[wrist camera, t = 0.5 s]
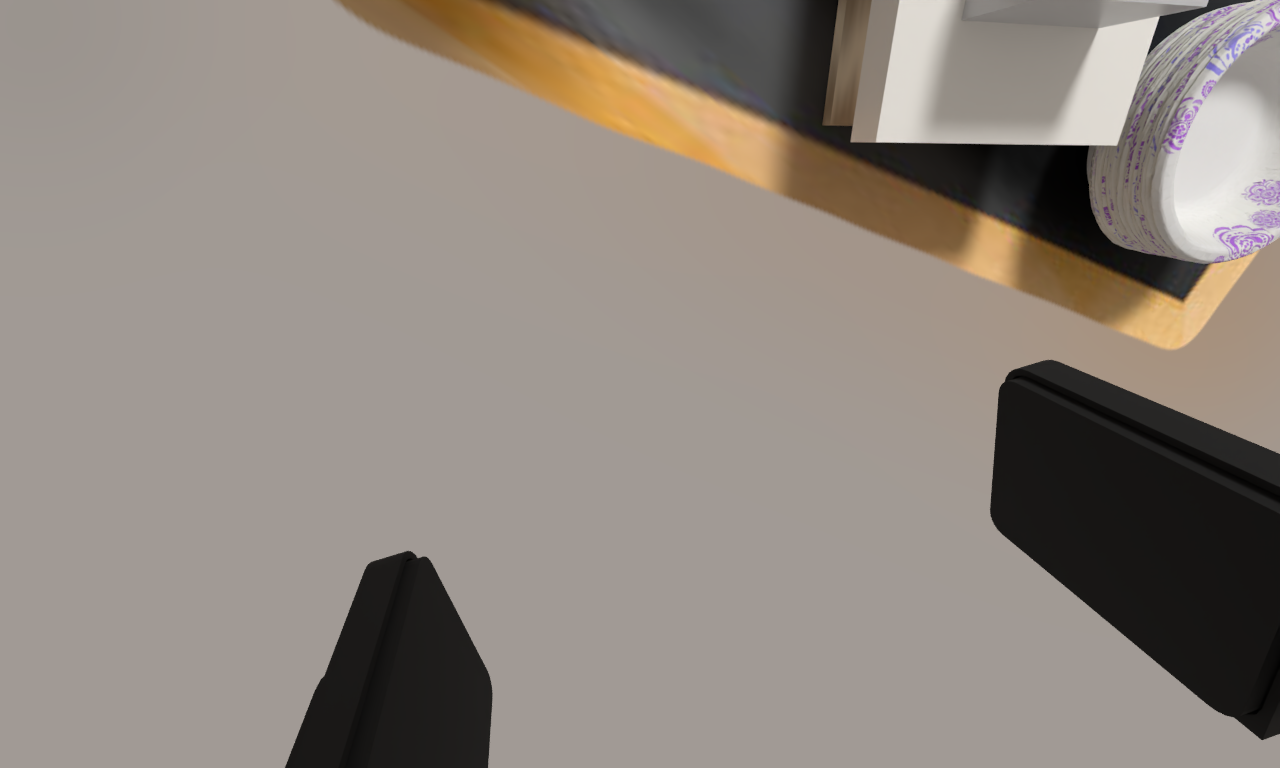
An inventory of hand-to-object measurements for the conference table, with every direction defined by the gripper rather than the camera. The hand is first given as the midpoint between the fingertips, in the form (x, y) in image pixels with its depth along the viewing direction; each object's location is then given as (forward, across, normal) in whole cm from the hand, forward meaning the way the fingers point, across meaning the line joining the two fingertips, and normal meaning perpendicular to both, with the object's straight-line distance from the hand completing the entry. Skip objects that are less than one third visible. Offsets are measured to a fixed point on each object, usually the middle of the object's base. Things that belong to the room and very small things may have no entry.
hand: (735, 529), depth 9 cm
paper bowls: (+30, -42, +4) cm, 51 cm away
